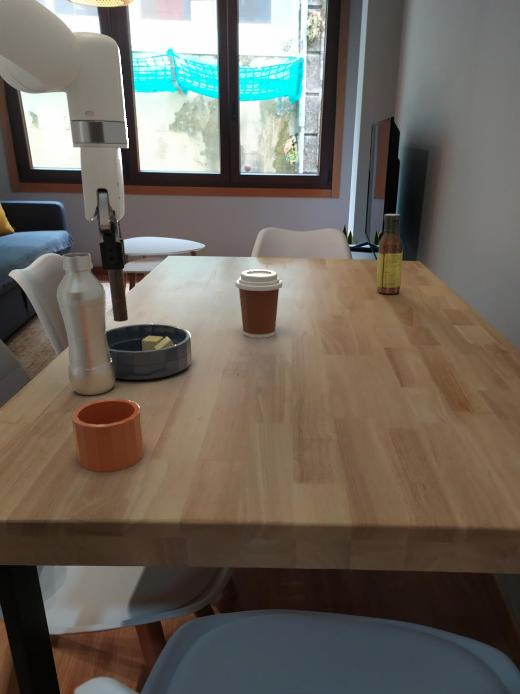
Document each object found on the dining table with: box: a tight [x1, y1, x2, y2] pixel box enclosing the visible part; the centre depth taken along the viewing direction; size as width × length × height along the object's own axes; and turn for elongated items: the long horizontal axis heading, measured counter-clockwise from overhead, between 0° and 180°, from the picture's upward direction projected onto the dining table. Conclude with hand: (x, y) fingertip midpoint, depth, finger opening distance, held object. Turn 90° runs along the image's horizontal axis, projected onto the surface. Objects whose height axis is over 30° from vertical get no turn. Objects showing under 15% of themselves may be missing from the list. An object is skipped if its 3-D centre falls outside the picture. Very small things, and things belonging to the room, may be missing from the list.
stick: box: [107, 269, 129, 323], centre depth 84 cm, size 2×2×14 cm
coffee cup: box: [235, 269, 283, 339], centre depth 106 cm, size 9×9×12 cm
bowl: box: [106, 323, 193, 381], centre depth 90 cm, size 15×15×5 cm
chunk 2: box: [154, 337, 174, 350], centre depth 90 cm, size 3×3×3 cm
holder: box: [71, 398, 145, 473], centre depth 62 cm, size 7×7×6 cm
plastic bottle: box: [56, 252, 116, 396], centre depth 77 cm, size 6×7×20 cm
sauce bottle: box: [376, 213, 404, 295], centre depth 140 cm, size 6×6×20 cm
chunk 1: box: [142, 336, 163, 351], centre depth 94 cm, size 3×3×3 cm
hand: (114, 266), depth 84 cm, fingers closed on stick, 2 cm apart
